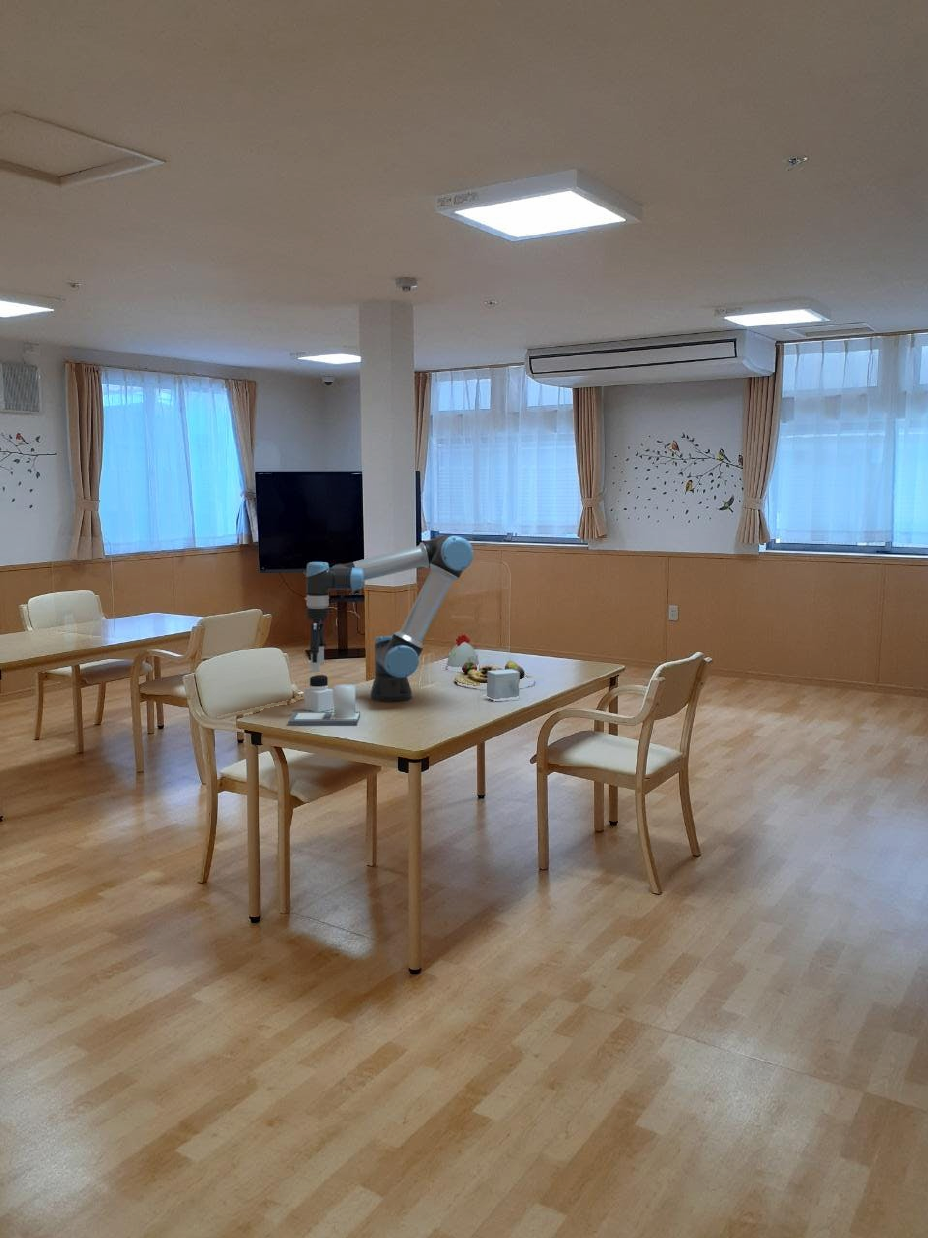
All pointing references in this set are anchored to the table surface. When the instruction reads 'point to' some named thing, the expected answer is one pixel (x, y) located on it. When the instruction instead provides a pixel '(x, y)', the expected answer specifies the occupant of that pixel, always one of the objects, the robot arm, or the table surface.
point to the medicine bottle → (318, 694)
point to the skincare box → (503, 684)
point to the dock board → (322, 719)
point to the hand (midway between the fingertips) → (317, 668)
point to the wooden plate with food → (483, 673)
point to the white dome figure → (462, 653)
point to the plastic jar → (344, 701)
